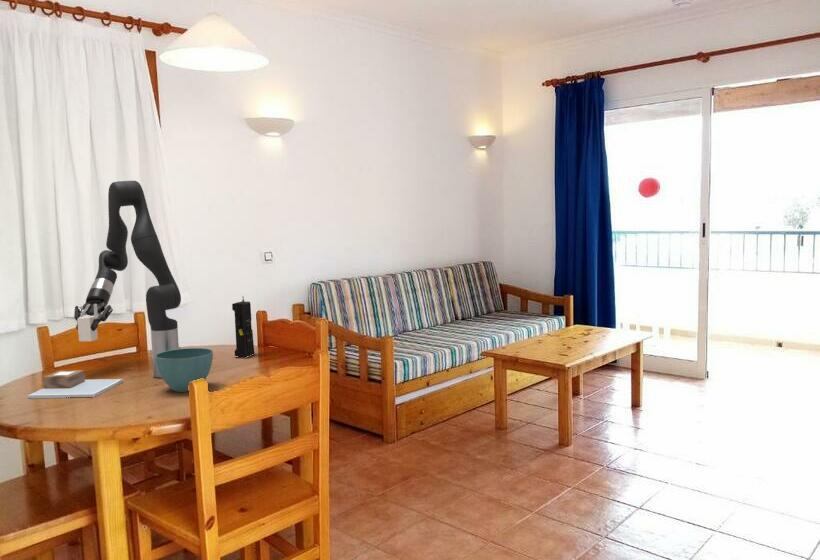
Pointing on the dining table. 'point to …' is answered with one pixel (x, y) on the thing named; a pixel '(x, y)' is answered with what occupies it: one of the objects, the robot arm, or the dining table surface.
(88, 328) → the block
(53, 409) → the dining table surface
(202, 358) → the teal bowl
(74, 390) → the build board
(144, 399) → the dining table surface
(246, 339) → the portable radio
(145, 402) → the dining table surface
